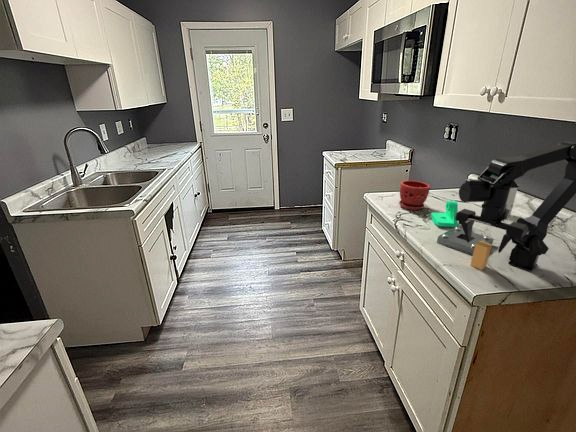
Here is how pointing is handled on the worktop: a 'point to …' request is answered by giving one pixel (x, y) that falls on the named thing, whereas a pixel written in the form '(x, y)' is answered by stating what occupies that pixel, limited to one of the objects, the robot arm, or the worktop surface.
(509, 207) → the skincare box
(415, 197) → the plant pot
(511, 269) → the worktop surface
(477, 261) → the tan square peg
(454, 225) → the camera mount
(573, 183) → the robot arm
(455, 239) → the grey square hole plate
